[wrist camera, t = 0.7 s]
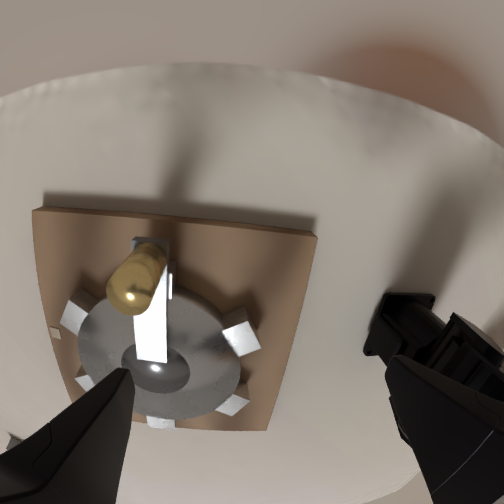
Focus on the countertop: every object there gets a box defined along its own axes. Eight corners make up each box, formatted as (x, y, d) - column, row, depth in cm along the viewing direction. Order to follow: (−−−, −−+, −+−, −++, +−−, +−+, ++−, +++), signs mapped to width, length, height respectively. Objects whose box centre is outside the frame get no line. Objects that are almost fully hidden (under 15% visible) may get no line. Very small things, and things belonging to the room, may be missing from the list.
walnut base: (310, 231, 20) (318, 237, 18) (264, 419, 26) (266, 431, 24) (42, 206, 16) (31, 210, 15) (78, 398, 23) (73, 408, 21)
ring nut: (273, 240, 18) (304, 288, 11) (240, 417, 23) (248, 477, 17) (62, 220, 16) (0, 253, 9) (93, 398, 21) (73, 453, 14)
